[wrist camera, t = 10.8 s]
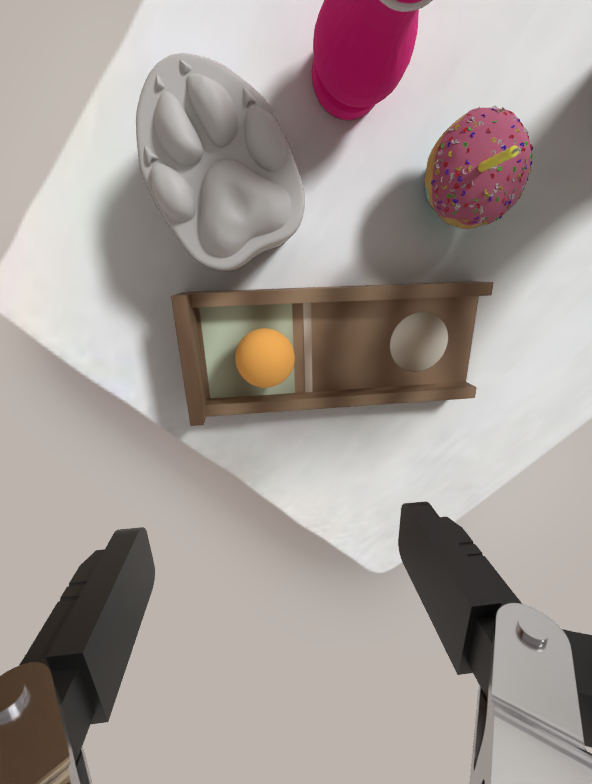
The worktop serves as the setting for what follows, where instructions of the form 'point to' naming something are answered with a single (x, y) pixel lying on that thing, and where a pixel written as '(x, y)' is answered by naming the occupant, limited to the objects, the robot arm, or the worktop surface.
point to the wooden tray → (330, 345)
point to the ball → (264, 357)
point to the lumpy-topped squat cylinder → (216, 162)
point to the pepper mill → (362, 52)
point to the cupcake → (478, 167)
